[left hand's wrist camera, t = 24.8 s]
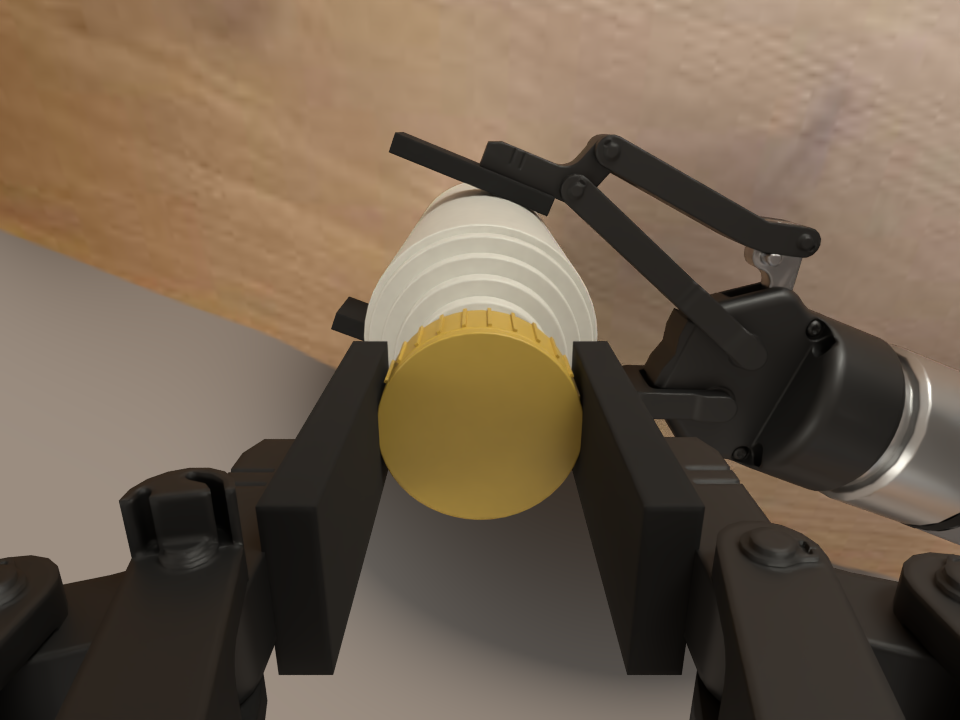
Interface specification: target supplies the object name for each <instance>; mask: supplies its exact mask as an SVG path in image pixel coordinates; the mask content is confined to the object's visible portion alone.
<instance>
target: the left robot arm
mask: <svg viewBox="0 0 960 720" xmlns="http://www.w3.org/2000/svg"><path fill="white" fill-rule="evenodd" d="M388 369H389V361H388V342H387V341H353V343H352V344H351V346H350V348H349V349H348V351H347V353H346V354H345V356H344V358H343V359H342V361H341V363H340V365H339V366H338V368H337V370H336V371H335V373H334V375H333V376H332V378H331V380H330V381H329V383H328V385H327V386H326V388H325V390H324V392H323V393H322V395H321V397H320V398H319V400H318V402H317V403H316V405H315V407H314V408H313V410H312V412H311V413H310V415H309V417H308V419H307V420H306V422H305V424H304V425H303V427H302V429H301V430H300V432H299V434H298V435H297V437H296V439H264V440H262V441H261V442H259V443H258V444H256V445H255V446H253V447H252V448H250V449H248V450H247V451H245V452H244V453H242V455H241V456H240V458H239V459H238V460H237V462H236V463H235V464H234V466H233V467H232V469H231V472H229V473H228V474H227V473H226V472H225V471H221V470H217V469H212V468H186V469H181V470H175V471H170V472H166V473H163V474H161V475H158V476H155V477H152V478H149V479H147V480H145V481H143V482H141V483H140V484H138V485H136V486H135V487H133V488H131V489H130V490H129V491H128V492H127V493H126V494H125V495H124V496H123V497H122V498H121V499H120V500H119V503H120V508H121V512H122V517H123V521H124V526H125V530H126V534H127V539H128V543H129V548H130V552H131V557H132V559H131V561H130V563H129V565H128V567H127V569H126V571H124V572H121V573H117V574H113V575H109V576H104V577H99V578H94V579H89V580H84V581H79V582H74V583H69V584H64V585H63V583H62V580H61V576H60V572H59V569H58V566H57V565H56V564H55V563H53V562H52V561H51V560H50V559H49V558H44V557H38V556H32V555H29V556H18V557H7V558H3V559H0V720H265V716H266V707H267V695H266V687H265V681H264V674H263V673H264V670H265V668H266V665H267V663H268V660H269V658H270V655H271V653H272V650H273V648H274V645H275V651H276V658H277V665H278V672H279V675H333V673H334V670H335V666H336V662H337V659H338V655H339V651H340V647H341V643H342V640H343V636H344V632H345V629H346V625H347V621H348V617H349V614H350V610H351V606H352V603H353V599H354V595H355V591H356V587H357V584H358V580H359V576H360V573H361V569H362V565H363V562H364V558H365V554H366V550H367V547H368V543H369V539H370V535H371V532H372V528H373V524H374V520H375V517H376V513H377V509H378V505H379V502H380V498H381V494H382V491H383V487H384V483H385V480H386V476H387V472H388V468H387V466H386V464H385V462H384V460H383V457H382V455H381V452H380V442H379V425H378V406H379V403H380V400H381V397H382V393H383V391H384V388H385V385H386V383H384V380H385V377H386V375H387V372H388ZM571 370H572V372H573V375H574V377H573V378H574V380H575V383H576V386H577V388H578V391H579V394H580V401H581V405H582V409H583V414H582V432H581V448H580V453H579V456H578V458H577V461H576V463H575V465H574V467H573V469H572V471H573V474H574V478H575V481H576V485H577V489H578V493H579V497H580V500H581V504H582V508H583V512H584V515H585V519H586V523H587V526H588V530H589V534H590V538H591V541H592V545H593V549H594V552H595V556H596V560H597V564H598V567H599V571H600V575H601V579H602V582H603V586H604V590H605V594H606V597H607V601H608V605H609V608H610V612H611V616H612V620H613V623H614V627H615V631H616V635H617V638H618V642H619V646H620V649H621V653H622V657H623V661H624V664H625V668H626V672H627V675H682V669H683V661H684V654H685V647H686V643H687V646H688V648H689V651H690V653H691V656H692V658H693V661H694V663H695V666H696V668H697V674H696V681H695V687H694V694H693V700H692V707H691V714H690V720H960V556H959V555H954V554H942V553H931V552H930V553H924V554H918V555H913V556H912V557H910V558H909V559H908V560H907V561H906V562H904V564H903V567H902V571H901V575H900V578H899V582H896V581H891V580H886V579H881V578H876V577H871V576H866V575H861V574H856V573H851V572H847V571H843V570H839V569H836V568H833V566H832V564H831V562H830V560H829V558H828V556H827V555H826V554H825V553H824V551H823V550H822V549H821V548H820V546H819V545H818V544H816V543H815V542H814V541H812V540H811V539H809V538H808V537H806V536H805V535H803V534H802V533H799V532H797V531H795V530H792V529H790V528H787V527H785V526H782V525H778V524H774V523H771V522H770V521H769V520H768V518H767V517H766V516H765V514H764V513H763V512H762V510H761V509H760V507H759V506H758V505H757V503H756V502H755V501H754V499H753V498H752V497H751V495H750V494H749V492H748V491H747V490H746V488H745V487H744V486H743V484H740V480H739V479H738V478H737V476H736V475H735V473H734V472H733V471H732V470H730V467H729V465H728V464H727V463H726V461H725V460H724V458H723V457H722V456H721V454H720V453H719V452H718V451H717V450H716V449H714V448H713V447H711V446H709V445H708V444H706V443H705V442H703V441H702V440H700V439H698V438H697V437H664V436H663V435H662V433H661V431H660V430H659V428H658V426H657V424H656V423H655V421H654V419H653V418H652V416H651V414H650V413H649V411H648V409H647V408H646V406H645V404H644V403H643V401H642V399H641V398H640V396H639V394H638V392H637V391H636V389H635V387H634V386H633V384H632V382H631V381H630V379H629V377H628V376H627V374H626V372H625V371H624V369H623V367H622V365H621V364H620V362H619V360H618V359H617V357H616V355H615V354H614V352H613V350H612V349H611V347H610V345H609V344H608V342H607V341H573V350H572V369H571Z"/></svg>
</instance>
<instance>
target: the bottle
mask: <svg viewBox="0 0 960 720" xmlns="http://www.w3.org/2000/svg"><path fill="white" fill-rule="evenodd" d="M465 308H467V311H471V310H487V308H491V311H497V312H502V313H507V314H511V312H512V313H515V316H516V317H518V318H521V319H523V320H525V321H527V322H529V323H530V324H532V323H533V322H534V323H536V325H537V328H538V329H539V330H541V331H542V332H543V333H544V334H545V335H546V336H548V337H549V338H550V337H553V339H554V341H555V344H556V346H557V348H558V349H559V351H560V352H561V354H562V355H566V357H567V359H568V362H569V364H570V367H571V369H572V350H573V341H597V322H596V316H595V311H594V307H593V303H592V300H591V298H590V295H589V293H588V290H587V288H586V286H585V285H584V283H583V281H582V279H581V277H580V276H579V274H578V273H577V271H576V270H575V268H574V267H573V265H572V264H571V262H570V261H569V259H568V258H567V257H566V255H565V254H564V252H563V251H562V249H561V248H560V246H559V245H558V243H557V242H556V240H555V239H554V237H553V236H552V234H551V233H550V231H549V230H548V228H547V227H546V226H545V224H544V223H543V221H542V220H541V218H540V217H539V215H538V214H537V212H535V211H533V210H530V209H528V208H525V207H523V206H520V205H518V204H515V203H513V202H511V201H508V200H506V199H503V198H501V197H498V196H496V195H493V194H491V193H488V192H486V191H483V190H481V189H478V188H476V187H473V186H471V185H469V184H466V183H462V184H459V185H456V186H454V187H452V188H450V189H448V190H446V191H445V192H443V193H442V194H441V195H439V196H438V197H437V198H436V199H435V200H434V201H433V202H432V203H431V204H430V205H429V207H428V208H427V210H426V211H425V213H424V214H423V215H422V217H421V218H420V220H419V221H418V223H417V224H416V226H415V227H414V229H413V230H412V232H411V233H410V235H409V236H408V238H407V239H406V241H405V242H404V244H403V245H402V247H401V248H400V250H399V251H398V253H397V254H396V256H395V257H394V259H393V260H392V262H391V263H390V265H389V266H388V268H387V269H386V271H385V272H384V274H383V275H382V277H381V278H380V280H379V282H378V284H377V286H376V287H375V289H374V291H373V294H372V296H371V299H370V302H369V305H368V309H367V314H366V318H365V329H364V341H387V342H388V361H389V367H390V364H391V362H392V360H396V358H397V356H398V354H399V352H400V350H401V347H402V344H403V342H404V341H406V342H408V341H409V340H410V339H411V338H412V337H413V336H414V335H415V334H416V333H417V332H418V330H419V327H420V326H423V327H425V326H427V325H429V324H430V323H432V322H434V321H436V320H438V319H439V317H440V315H442V314H443V315H444V317H445V316H448V315H451V314H454V313H458V312H463V309H465Z"/></svg>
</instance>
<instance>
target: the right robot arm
mask: <svg viewBox="0 0 960 720" xmlns="http://www.w3.org/2000/svg"><path fill="white" fill-rule="evenodd" d="M389 152H390V153H392V154H394V155H397V156H399V157H402V158H404V159H407V160H409V161H412V162H414V163H417V164H419V165H422V166H424V167H427V168H429V169H432V170H434V171H436V172H439V173H441V174H444V175H446V176H449V177H451V178H454V179H456V180H459V181H461V182H464V183H466V184H469V185H471V186H473V187H476V188H478V189H481V190H483V191H486V192H488V193H491V194H493V195H496V196H498V197H501V198H503V199H506V200H508V201H511V202H513V203H515V204H518V205H520V206H523V207H525V208H528V209H530V210H533V211H535V212H538V213H540V214H543V215H545V216H548V213H549V211H550V209H551V206H552V204H553V202H554V199H555V198H556V199H558V200H560V201H563V202H565V203H566V204H567V205H568V206H569V207H570V208H571V209H573V210H574V211H575V212H576V213H577V214H578V215H579V216H580V217H581V218H582V219H583V220H584V221H585V222H586V223H587V224H589V225H590V226H591V227H592V228H593V229H594V230H595V231H596V232H597V233H598V234H599V235H600V236H601V237H602V238H603V239H605V240H606V241H607V242H608V243H609V244H610V245H611V246H612V247H613V248H614V249H615V250H616V251H617V252H618V253H620V254H621V255H622V256H623V257H624V258H625V259H626V260H627V261H628V262H629V263H630V264H631V265H632V266H633V267H634V268H636V269H637V270H638V271H639V272H640V273H641V274H642V275H643V276H644V277H645V278H646V279H647V280H648V281H649V282H651V283H652V284H653V285H654V286H655V287H656V288H657V289H658V290H659V291H660V292H661V293H662V294H663V295H664V296H665V297H666V298H668V299H669V300H670V301H671V302H672V303H673V304H674V305H675V306H676V307H677V308H678V309H679V310H678V309H675V308H674V309H673V311H672V313H671V315H670V317H669V319H668V321H667V323H666V327H665V332H664V336H663V340H662V342H661V343H660V344H659V345H658V346H657V347H656V348H655V350H654V351H653V352H652V353H651V354H650V356H649V358H648V360H647V362H646V364H645V365H624V366H622V367H623V369H624V371H625V372H626V374H627V376H628V377H629V379H630V381H631V382H632V384H633V386H634V387H635V389H636V391H637V392H638V394H639V396H640V398H641V399H642V401H643V403H644V404H645V406H646V408H647V409H648V411H649V413H650V414H651V416H652V418H653V419H665V421H666V423H667V424H668V426H669V428H670V429H671V431H672V433H673V434H674V436H675V437H697V438H698V439H700V440H702V441H703V442H705V443H706V444H708V445H709V446H711V447H713V448H714V449H716V450H717V451H718V452H719V453H720V454H721V456H722V457H723V458H724V459H729V460H732V461H735V462H737V463H739V464H742V465H744V466H747V467H749V468H752V469H754V470H757V471H760V472H763V473H765V474H768V475H771V476H774V477H776V478H779V479H782V480H784V481H787V482H790V483H793V484H795V485H798V486H801V487H804V488H806V489H809V490H814V491H819V492H821V493H822V494H824V495H826V496H828V497H829V498H832V499H835V500H838V501H841V502H844V503H846V504H849V505H852V506H855V507H858V508H861V509H864V510H867V511H870V512H872V513H875V514H878V515H881V516H884V517H887V518H890V519H893V520H895V521H898V522H900V523H902V524H905V525H907V526H910V527H913V528H917V529H920V530H922V531H925V532H927V533H930V534H932V535H935V536H938V537H940V538H943V539H945V540H948V541H951V542H953V543H956V544H958V545H960V371H958V370H956V369H953V368H951V367H949V366H946V365H944V364H941V363H939V362H936V361H934V360H932V359H929V358H927V357H924V356H922V355H920V354H917V353H915V352H912V351H910V350H907V349H905V348H902V347H899V346H896V345H890V344H888V343H887V342H885V341H884V340H882V339H880V338H878V337H875V336H873V335H870V334H868V333H866V332H863V331H861V330H858V329H856V328H853V327H851V326H849V325H846V324H844V323H841V322H839V321H836V320H834V319H831V318H829V317H827V316H824V315H822V314H819V313H817V312H814V311H812V310H810V309H808V308H807V307H806V306H805V305H804V304H803V302H802V301H801V299H800V298H799V296H798V295H797V294H796V293H795V292H793V291H792V290H793V287H794V283H795V280H796V277H797V274H798V270H799V267H800V264H801V261H802V258H806V257H809V256H811V255H813V254H814V253H815V252H816V251H817V250H818V248H819V246H820V242H821V238H820V234H819V233H818V232H817V231H816V230H815V229H812V228H809V227H806V226H803V225H799V224H796V223H793V222H789V221H786V220H782V219H775V218H768V217H760V216H758V215H756V214H754V213H752V212H751V211H749V210H747V209H745V208H744V207H742V206H740V205H738V204H737V203H735V202H733V201H731V200H730V199H728V198H726V197H724V196H723V195H721V194H719V193H717V192H716V191H714V190H712V189H711V188H709V187H707V186H705V185H704V184H702V183H700V182H698V181H697V180H695V179H693V178H691V177H690V176H688V175H686V174H684V173H683V172H681V171H679V170H677V169H676V168H674V167H672V166H671V165H669V164H667V163H665V162H664V161H662V160H660V159H658V158H657V157H655V156H653V155H651V154H650V153H648V152H646V151H644V150H643V149H641V148H639V147H637V146H636V145H634V144H632V143H631V142H629V141H627V140H625V139H624V138H622V137H620V136H617V135H610V134H600V135H596V136H594V137H592V138H591V139H590V141H589V142H588V144H587V146H586V147H585V148H584V149H583V150H582V152H581V153H580V154H579V155H578V156H577V157H576V158H575V159H574V160H573V161H571V162H569V163H567V164H556V163H553V162H550V161H548V160H545V159H543V158H541V157H538V156H536V155H534V154H531V153H529V152H526V151H524V150H522V149H519V148H517V147H514V146H512V145H510V144H507V143H505V142H502V141H488V143H487V146H486V148H485V151H484V154H483V156H482V159H481V162H480V163H477V162H475V161H472V160H470V159H468V158H465V157H463V156H460V155H458V154H455V153H453V152H450V151H448V150H446V149H443V148H441V147H438V146H436V145H433V144H431V143H429V142H426V141H424V140H421V139H419V138H416V137H414V136H412V135H409V134H407V133H404V132H395V135H394V138H393V141H392V144H391V147H390V150H389ZM609 173H612V174H613V175H615V176H617V177H619V178H621V179H622V180H624V181H626V182H628V183H629V184H631V185H633V186H635V187H637V188H638V189H640V190H642V191H644V192H645V193H647V194H649V195H651V196H653V197H654V198H656V199H658V200H660V201H661V202H663V203H665V204H667V205H669V206H670V207H672V208H674V209H676V210H677V211H679V212H681V213H683V214H685V215H686V216H688V217H690V218H692V219H693V220H695V221H697V222H699V223H701V224H702V225H704V226H706V227H708V228H709V229H711V230H713V231H715V232H717V233H718V234H720V235H722V236H724V237H726V238H729V239H731V240H733V241H735V242H738V243H740V244H742V245H744V246H746V247H745V251H744V257H745V260H746V261H747V262H748V263H749V264H750V265H752V266H754V267H756V268H758V269H759V270H760V272H761V276H762V279H761V282H759V283H755V284H751V285H747V286H742V287H738V288H734V289H730V290H726V291H722V292H718V293H714V294H708V293H707V292H706V291H705V290H704V289H703V288H702V287H701V286H700V285H698V284H697V283H696V282H695V281H694V280H693V279H692V278H691V277H690V276H689V275H688V274H687V273H686V272H684V271H683V270H682V269H681V268H680V267H679V266H678V265H677V264H676V263H675V262H674V261H673V260H672V259H671V258H670V257H669V256H668V255H667V254H666V253H665V252H664V251H663V250H662V249H660V248H659V247H658V246H657V245H656V244H655V243H654V242H653V241H652V240H651V239H650V238H649V237H648V236H647V235H646V234H645V233H644V232H643V231H642V230H641V229H640V228H639V227H638V226H636V225H635V224H634V223H633V222H632V221H631V220H630V219H629V218H628V217H627V216H626V215H625V214H624V213H623V212H622V211H621V210H620V209H619V208H618V207H617V206H616V205H615V204H614V203H612V202H611V201H610V200H609V199H608V198H607V197H606V196H605V195H604V194H603V193H602V192H601V191H600V190H599V189H598V188H597V186H598V185H599V184H600V183H601V182H602V181H603V180H604V179H605V178H606V177H607V176H608V174H609ZM368 305H369V304H368V303H365V302H362V301H360V300H357V299H354V298H352V297H348V299H347V300H346V301H345V303H344V304H343V305H342V306H341V308H340V309H339V310H338V311H337V313H336V316H335V319H334V322H333V325H332V328H331V329H332V330H335V331H338V332H340V333H343V334H346V335H349V336H351V337H354V338H357V339H360V340H362V341H364V329H365V318H366V314H367V309H368Z"/></svg>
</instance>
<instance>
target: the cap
mask: <svg viewBox="0 0 960 720" xmlns="http://www.w3.org/2000/svg"><path fill="white" fill-rule="evenodd" d="M573 377H574V375H573V372H572V370H571V367H570V364H569V362H568V359H567V357H566V355H562V354H561V352H560V351H559V349H558V348H557V346H556V344H555V341H554V339H553V337H550V338H549V337H548V336H546V335H545V334H544V333H543V332H542V331H541V330H539V329H538V328H537V325H536V323H534V322H533V323H532V324H530V323H529V322H527V321H525V320H523V319H521V318H518V317H516V316H515V313H512V312H511V314H507V313H502V312H497V311H491V308H487V310H471V311H467V308H465V309H463V312H458V313H454V314H451V315H448V316H445V317H444V315H443V314H442V315H440V317H439V319H438V320H436V321H434V322H432V323H430V324H429V325H427V326H425V327H423V326H420V327H419V330H418V332H417V333H416V334H415V335H414V336H413V337H412V338H411V339H410V340H409V341H408V342H406V341H404V342H403V344H402V347H401V350H400V352H399V354H398V356H397V358H396V360H392V362H391V364H390V367H389V369H388V372H387V375H386V377H385V380H384V383H386V385H385V388H384V391H383V393H382V397H381V400H380V403H379V406H378V425H379V442H380V452H381V455H382V457H383V460H384V462H385V464H386V466H387V468H388V469H389V471H390V473H391V474H392V476H393V477H394V479H395V480H396V481H397V482H398V484H399V485H400V486H401V487H402V488H403V489H404V490H405V491H406V492H407V493H408V494H410V495H411V496H412V497H413V498H415V499H416V500H417V501H419V502H420V503H422V504H424V505H426V506H427V507H429V508H431V509H433V510H436V511H438V512H440V513H443V514H447V515H450V516H454V517H458V518H464V519H475V520H484V519H496V518H502V517H507V516H510V515H514V514H517V513H520V512H522V511H525V510H527V509H529V508H531V507H533V506H535V505H537V504H538V503H540V502H541V501H543V500H544V499H546V498H547V497H548V496H550V495H551V494H552V493H553V492H554V491H555V490H556V489H557V488H558V487H559V486H560V485H561V484H562V483H563V482H564V480H565V479H566V478H567V477H568V475H569V473H570V472H571V470H572V469H573V467H574V465H575V463H576V461H577V458H578V456H579V453H580V448H581V432H582V414H583V409H582V405H581V401H580V394H579V391H578V388H577V386H576V383H575V380H574V378H573Z"/></svg>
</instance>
